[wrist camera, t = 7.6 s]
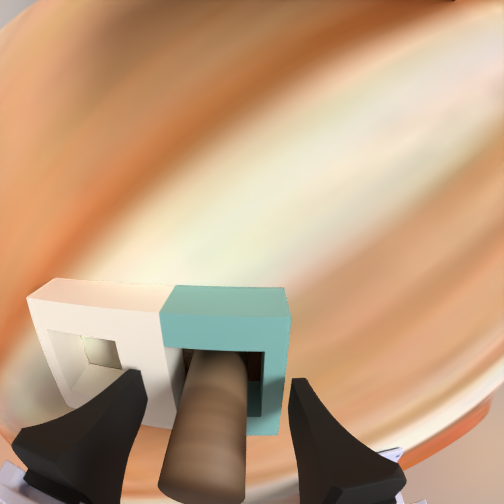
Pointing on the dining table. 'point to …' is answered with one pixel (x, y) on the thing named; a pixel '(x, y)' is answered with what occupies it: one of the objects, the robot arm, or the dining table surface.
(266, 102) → the dining table surface
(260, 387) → the hole block
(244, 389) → the walnut dowel
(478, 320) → the dining table surface
